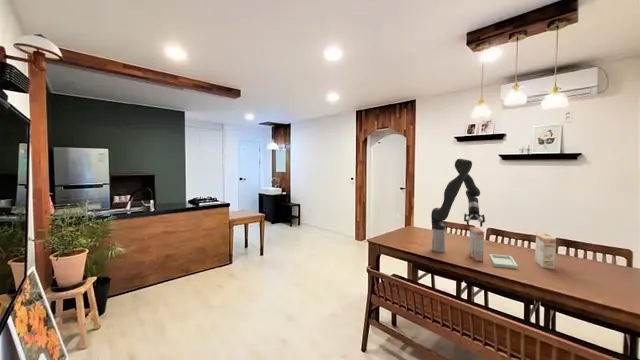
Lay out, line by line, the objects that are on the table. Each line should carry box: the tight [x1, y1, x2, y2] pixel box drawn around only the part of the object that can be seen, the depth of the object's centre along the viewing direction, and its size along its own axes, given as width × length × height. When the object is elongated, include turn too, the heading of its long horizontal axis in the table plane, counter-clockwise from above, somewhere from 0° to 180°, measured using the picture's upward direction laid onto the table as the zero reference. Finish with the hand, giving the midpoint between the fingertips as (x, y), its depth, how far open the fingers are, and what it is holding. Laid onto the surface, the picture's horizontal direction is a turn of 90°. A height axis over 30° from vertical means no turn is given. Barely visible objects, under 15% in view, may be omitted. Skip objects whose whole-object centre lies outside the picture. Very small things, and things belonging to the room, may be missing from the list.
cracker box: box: [468, 226, 485, 262], centre depth 213 cm, size 14×6×21 cm, turn 168°
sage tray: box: [488, 253, 519, 270], centre depth 203 cm, size 13×21×2 cm, turn 157°
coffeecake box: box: [534, 233, 557, 270], centre depth 199 cm, size 15×7×20 cm, turn 160°
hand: (474, 226), depth 226 cm, fingers open, 8 cm apart
